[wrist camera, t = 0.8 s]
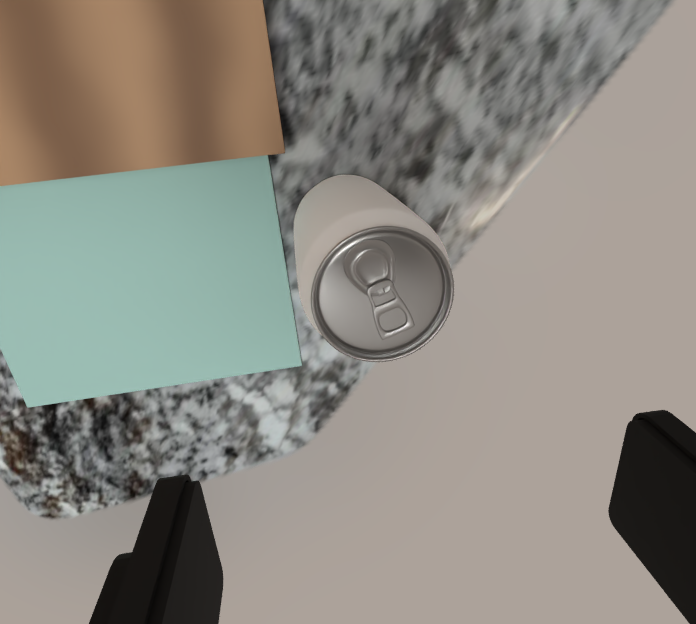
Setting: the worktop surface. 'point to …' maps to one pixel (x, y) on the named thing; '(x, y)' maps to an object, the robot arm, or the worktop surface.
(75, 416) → the worktop surface
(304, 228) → the can
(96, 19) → the board
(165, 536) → the robot arm
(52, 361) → the mat
